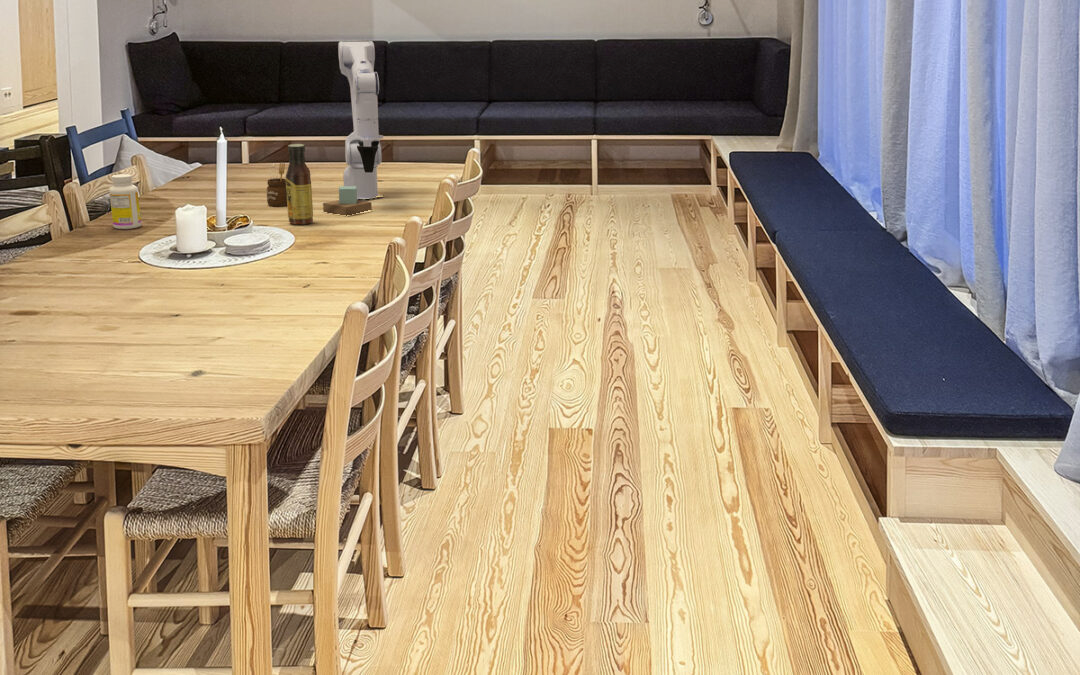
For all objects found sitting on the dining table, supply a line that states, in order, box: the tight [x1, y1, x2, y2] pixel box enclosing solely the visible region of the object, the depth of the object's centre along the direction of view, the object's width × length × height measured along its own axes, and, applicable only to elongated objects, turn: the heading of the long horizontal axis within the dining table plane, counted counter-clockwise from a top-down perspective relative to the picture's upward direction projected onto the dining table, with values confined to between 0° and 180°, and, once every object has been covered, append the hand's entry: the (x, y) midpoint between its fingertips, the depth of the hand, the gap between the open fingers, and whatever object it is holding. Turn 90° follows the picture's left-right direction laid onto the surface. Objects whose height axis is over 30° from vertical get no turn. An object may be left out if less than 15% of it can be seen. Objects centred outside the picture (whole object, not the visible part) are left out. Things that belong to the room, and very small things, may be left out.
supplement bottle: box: [108, 173, 142, 230], centre depth 274 cm, size 7×7×13 cm
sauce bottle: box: [285, 143, 314, 226], centre depth 279 cm, size 6×6×20 cm
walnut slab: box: [322, 199, 373, 217], centre depth 296 cm, size 9×9×3 cm
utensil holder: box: [266, 162, 287, 208], centre depth 303 cm, size 6×6×12 cm
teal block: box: [338, 185, 358, 204], centre depth 295 cm, size 4×4×4 cm
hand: (369, 170), depth 299 cm, fingers open, 7 cm apart
